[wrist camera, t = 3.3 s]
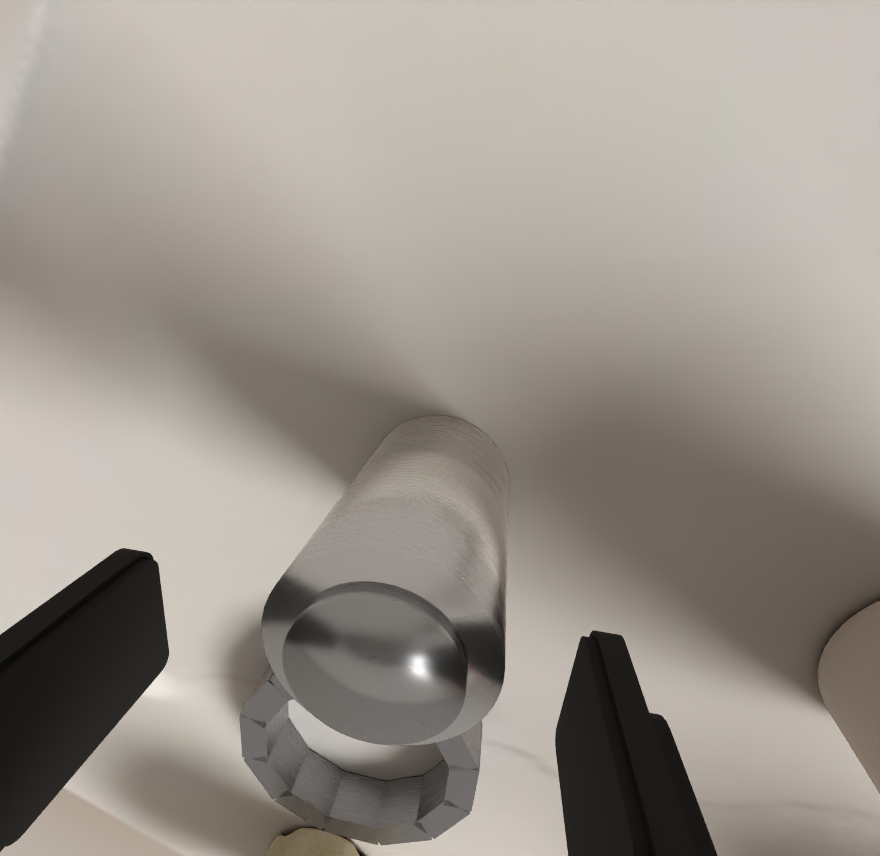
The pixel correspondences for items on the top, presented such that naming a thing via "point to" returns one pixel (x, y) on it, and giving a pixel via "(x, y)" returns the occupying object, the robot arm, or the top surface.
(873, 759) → the coffee cup
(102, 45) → the top surface
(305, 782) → the collar
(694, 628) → the top surface
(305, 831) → the flower pot
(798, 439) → the top surface
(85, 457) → the top surface
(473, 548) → the piston
